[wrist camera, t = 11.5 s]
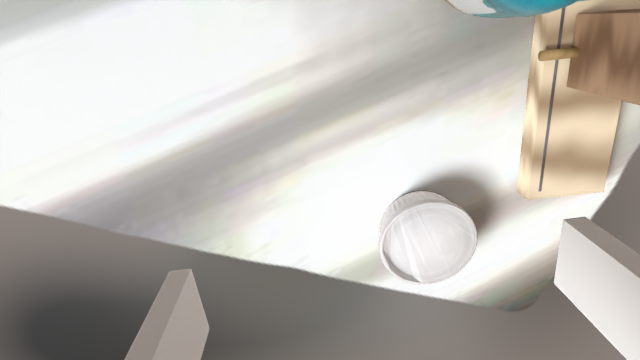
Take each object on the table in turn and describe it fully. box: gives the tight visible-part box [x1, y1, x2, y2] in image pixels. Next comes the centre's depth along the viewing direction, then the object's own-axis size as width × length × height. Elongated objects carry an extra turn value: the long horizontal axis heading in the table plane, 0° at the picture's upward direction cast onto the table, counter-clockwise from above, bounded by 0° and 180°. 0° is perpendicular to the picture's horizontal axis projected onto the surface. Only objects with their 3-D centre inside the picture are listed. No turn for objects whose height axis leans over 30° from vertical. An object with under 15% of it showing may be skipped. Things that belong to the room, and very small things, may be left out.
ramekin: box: [378, 191, 477, 284], centre depth 47 cm, size 11×11×5 cm
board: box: [517, 0, 640, 200], centre depth 42 cm, size 24×9×3 cm, turn 6°
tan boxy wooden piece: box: [538, 9, 640, 105], centre depth 34 cm, size 7×8×11 cm
